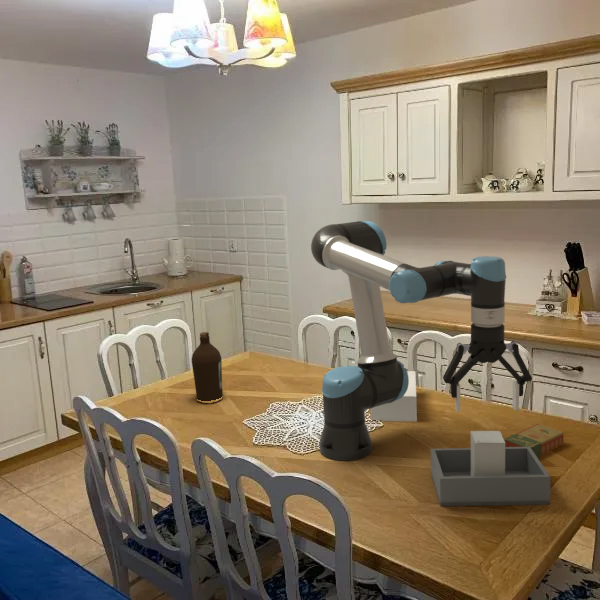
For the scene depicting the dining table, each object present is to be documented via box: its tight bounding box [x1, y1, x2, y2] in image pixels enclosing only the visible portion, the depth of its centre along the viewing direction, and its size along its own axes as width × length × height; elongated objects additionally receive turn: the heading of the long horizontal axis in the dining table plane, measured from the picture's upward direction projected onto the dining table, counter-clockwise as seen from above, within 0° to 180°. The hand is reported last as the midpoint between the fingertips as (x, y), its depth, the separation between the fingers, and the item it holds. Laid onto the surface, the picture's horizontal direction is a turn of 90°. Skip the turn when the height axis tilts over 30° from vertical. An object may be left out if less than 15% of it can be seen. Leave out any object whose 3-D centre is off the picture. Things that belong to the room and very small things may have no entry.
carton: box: [503, 423, 564, 458], centre depth 172 cm, size 8×16×4 cm, turn 124°
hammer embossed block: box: [369, 370, 418, 422], centre depth 207 cm, size 14×25×11 cm, turn 170°
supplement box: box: [470, 430, 505, 476], centre depth 150 cm, size 7×7×13 cm
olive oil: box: [191, 331, 224, 401], centre depth 222 cm, size 11×11×25 cm
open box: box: [430, 447, 551, 507], centre depth 151 cm, size 25×16×7 cm, turn 86°
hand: (486, 409), depth 148 cm, fingers open, 13 cm apart
